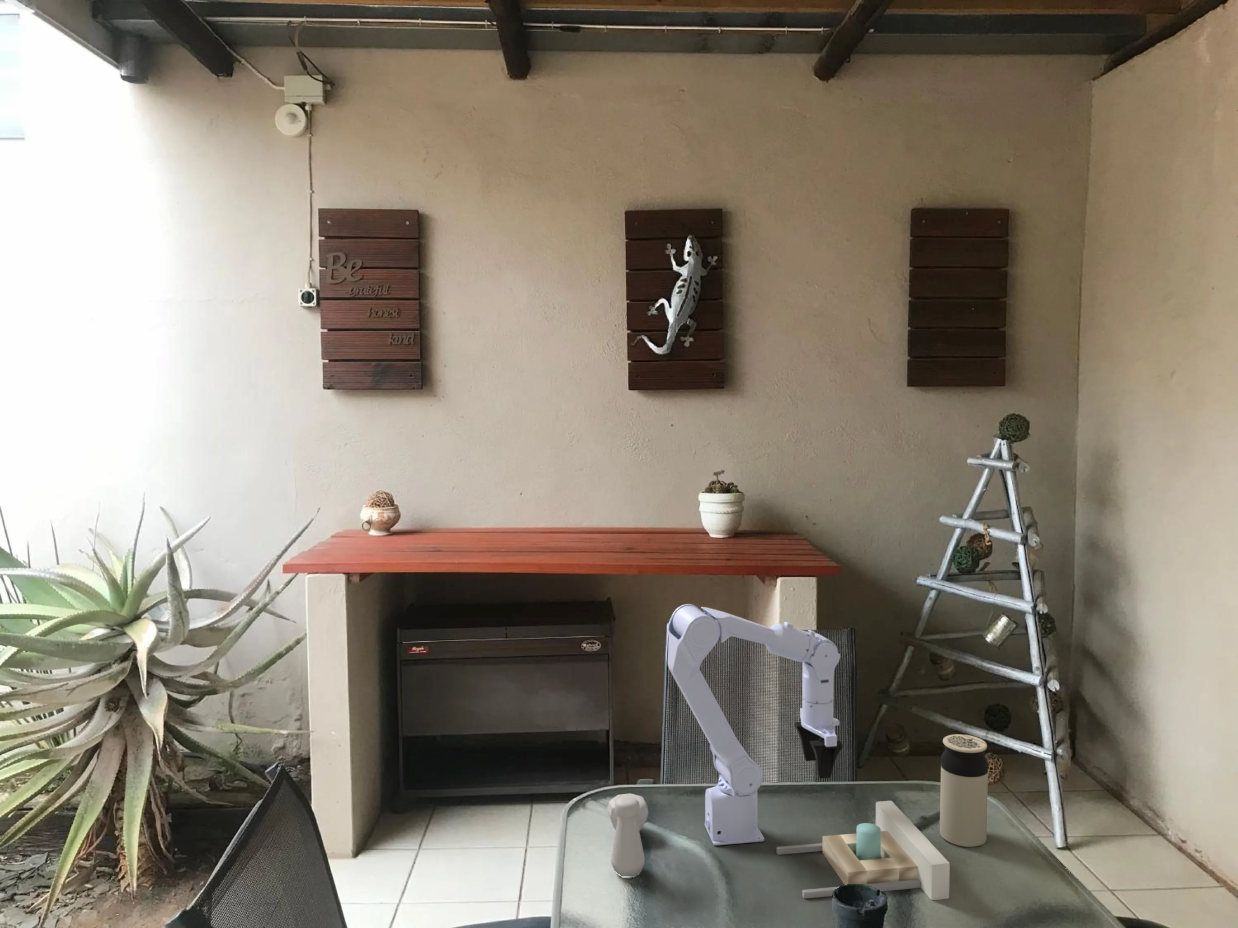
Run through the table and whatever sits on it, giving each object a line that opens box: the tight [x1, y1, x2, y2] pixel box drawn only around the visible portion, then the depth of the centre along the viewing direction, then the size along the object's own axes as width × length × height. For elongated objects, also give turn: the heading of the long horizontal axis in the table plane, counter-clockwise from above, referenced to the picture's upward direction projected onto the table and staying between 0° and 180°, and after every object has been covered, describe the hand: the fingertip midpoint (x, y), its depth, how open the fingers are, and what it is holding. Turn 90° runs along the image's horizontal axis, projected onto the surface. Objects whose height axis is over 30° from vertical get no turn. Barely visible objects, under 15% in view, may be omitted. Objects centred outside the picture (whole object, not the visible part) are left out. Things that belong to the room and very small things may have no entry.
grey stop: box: [776, 800, 951, 901], centre depth 156 cm, size 23×22×6 cm
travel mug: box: [939, 733, 989, 848], centre depth 166 cm, size 8×8×18 cm
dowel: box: [856, 822, 881, 861], centre depth 157 cm, size 4×4×7 cm
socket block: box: [821, 831, 918, 886], centre depth 157 cm, size 12×12×3 cm
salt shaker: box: [610, 796, 646, 876], centre depth 156 cm, size 6×6×13 cm
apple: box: [606, 793, 649, 832], centre depth 170 cm, size 8×8×7 cm
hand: (817, 768), depth 172 cm, fingers open, 7 cm apart
